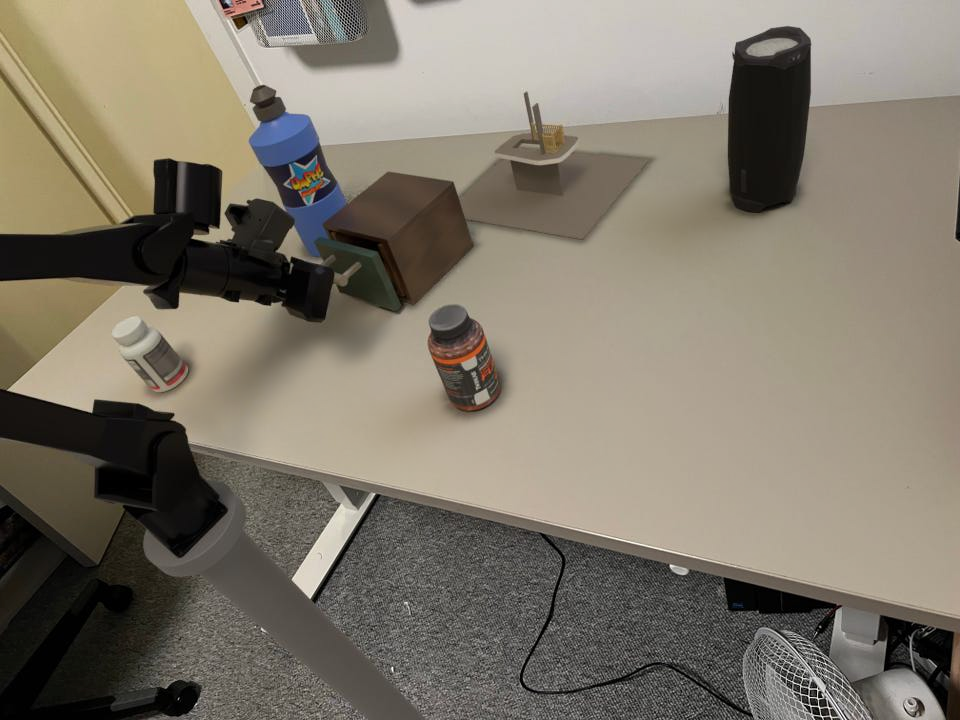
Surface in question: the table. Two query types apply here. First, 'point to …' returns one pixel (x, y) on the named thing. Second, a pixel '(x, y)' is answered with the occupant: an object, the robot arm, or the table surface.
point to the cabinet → (409, 227)
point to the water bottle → (295, 165)
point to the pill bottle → (149, 354)
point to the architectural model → (548, 183)
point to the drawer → (362, 269)
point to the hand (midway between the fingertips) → (328, 286)
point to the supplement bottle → (462, 358)
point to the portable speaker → (768, 116)
